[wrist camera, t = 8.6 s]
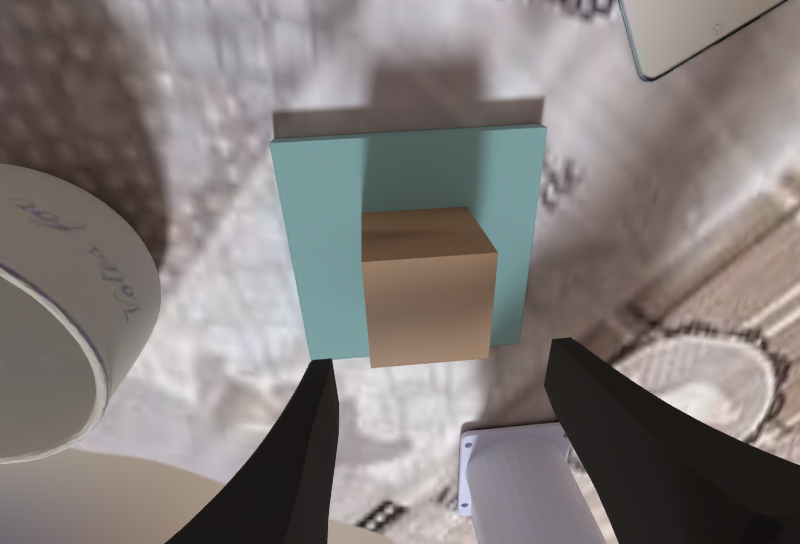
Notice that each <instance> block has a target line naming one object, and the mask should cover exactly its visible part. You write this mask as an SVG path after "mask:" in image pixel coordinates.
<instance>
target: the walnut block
mask: <svg viewBox="0 0 800 544" xmlns="http://www.w3.org/2000/svg"><path fill="white" fill-rule="evenodd" d="M497 261H498V252H497V250H496V249H495V247H494V246H493V244H492V243H491V241H490V240H489V238H488V237H487V235H486V234H485V232H484V231H483V229H482V228H481V227H480V225H479V224H478V222H477V221H476V219H475V218H474V216H473V215H472V213H471V212H470V210H469V209H468V207H451V208H435V209H419V210H403V211H387V212H371V213H361V263H362V274H363V285H364V296H365V307H366V319H367V330H368V341H369V352H370V363H371V368H378V367H390V366H402V365H414V364H426V363H437V362H449V361H461V360H473V359H485V358H489V347H490V336H491V326H492V315H493V304H494V293H495V283H496V272H497Z"/></svg>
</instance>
